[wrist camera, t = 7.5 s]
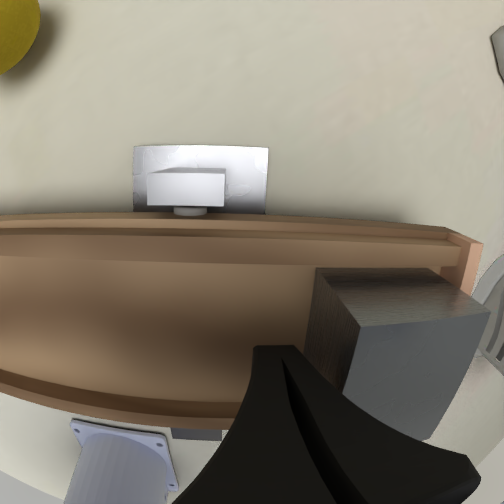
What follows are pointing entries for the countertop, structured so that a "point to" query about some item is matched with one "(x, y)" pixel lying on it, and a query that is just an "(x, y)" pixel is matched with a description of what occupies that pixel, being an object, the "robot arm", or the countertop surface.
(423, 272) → the steel block
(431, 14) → the countertop surface
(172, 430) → the pivot stand
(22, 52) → the lemon
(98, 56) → the countertop surface
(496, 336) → the french press
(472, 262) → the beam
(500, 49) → the flask
